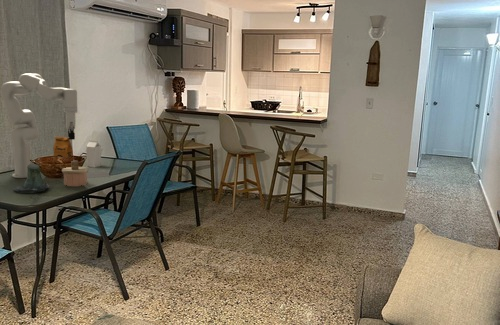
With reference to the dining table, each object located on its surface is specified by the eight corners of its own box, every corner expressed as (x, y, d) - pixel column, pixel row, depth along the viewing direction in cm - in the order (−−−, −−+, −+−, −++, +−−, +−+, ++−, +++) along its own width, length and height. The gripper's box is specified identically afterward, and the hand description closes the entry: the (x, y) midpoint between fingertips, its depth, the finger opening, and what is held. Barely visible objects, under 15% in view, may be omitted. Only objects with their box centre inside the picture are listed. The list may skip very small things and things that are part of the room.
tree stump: (41, 184, 267) (44, 157, 261) (54, 199, 255) (57, 171, 249) (8, 187, 254) (11, 159, 249) (20, 203, 242) (22, 174, 236)
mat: (82, 173, 298) (82, 172, 298) (107, 171, 305) (107, 171, 305) (84, 178, 284) (84, 177, 284) (110, 177, 291) (110, 176, 290)
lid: (61, 168, 273) (61, 159, 272) (87, 167, 279) (86, 158, 278) (62, 174, 260) (61, 164, 258) (89, 173, 266) (88, 163, 264)
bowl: (63, 181, 274) (63, 169, 272) (85, 180, 279) (85, 168, 278) (64, 186, 262) (64, 173, 261) (87, 185, 268) (87, 172, 266)
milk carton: (95, 167, 315) (94, 141, 312) (86, 166, 317) (85, 140, 314) (101, 165, 322) (100, 140, 318) (93, 164, 324) (92, 139, 320)
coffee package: (66, 169, 305) (65, 138, 301) (52, 168, 309) (50, 137, 304) (76, 167, 314) (75, 136, 310) (62, 165, 318) (60, 135, 314)
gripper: (63, 108, 268) (64, 136, 271) (64, 111, 252) (65, 140, 256) (76, 108, 271) (77, 135, 274) (78, 111, 255) (79, 140, 259)
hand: (71, 138), depth 265 cm, fingers open, 9 cm apart
